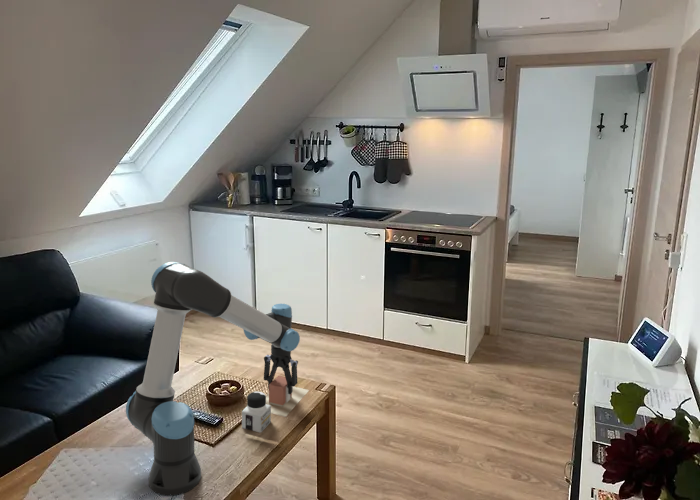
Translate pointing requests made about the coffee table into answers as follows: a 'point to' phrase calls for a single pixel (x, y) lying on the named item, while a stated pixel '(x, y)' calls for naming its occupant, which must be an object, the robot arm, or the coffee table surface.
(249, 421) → the container
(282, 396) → the block
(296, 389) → the board
